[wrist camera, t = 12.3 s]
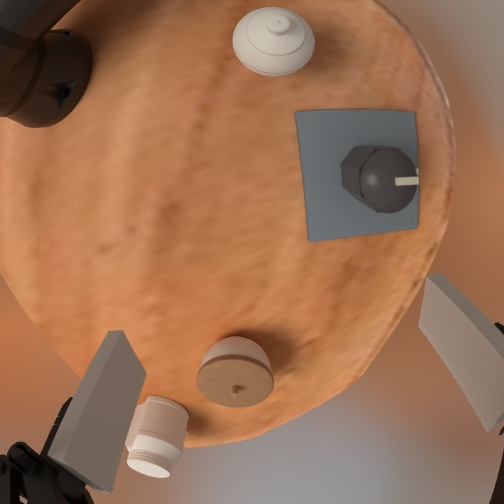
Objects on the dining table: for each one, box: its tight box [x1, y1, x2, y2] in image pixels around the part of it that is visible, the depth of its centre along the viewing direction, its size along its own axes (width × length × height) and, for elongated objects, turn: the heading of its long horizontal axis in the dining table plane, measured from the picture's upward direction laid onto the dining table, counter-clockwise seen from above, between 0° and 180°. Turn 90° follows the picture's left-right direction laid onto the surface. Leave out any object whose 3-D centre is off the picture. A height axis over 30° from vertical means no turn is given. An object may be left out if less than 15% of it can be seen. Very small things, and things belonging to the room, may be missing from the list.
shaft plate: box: [294, 110, 419, 242], centre depth 29 cm, size 16×16×6 cm
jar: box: [125, 396, 189, 478], centre depth 43 cm, size 12×10×15 cm
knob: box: [340, 146, 419, 214], centre depth 28 cm, size 7×7×7 cm
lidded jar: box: [197, 336, 274, 407], centre depth 38 cm, size 11×11×9 cm
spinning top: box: [233, 7, 315, 76], centre depth 22 cm, size 8×8×12 cm
